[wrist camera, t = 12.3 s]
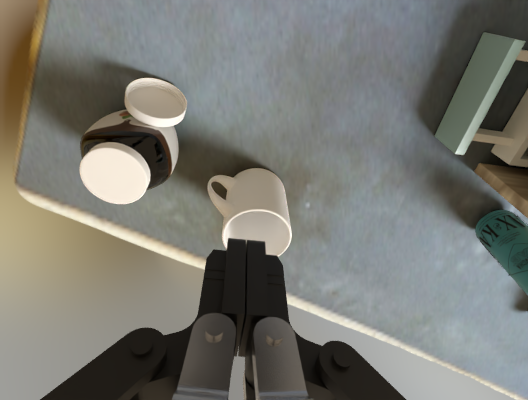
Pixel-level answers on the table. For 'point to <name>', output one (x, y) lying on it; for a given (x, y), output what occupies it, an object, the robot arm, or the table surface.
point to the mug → (254, 209)
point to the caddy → (487, 102)
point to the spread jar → (133, 143)
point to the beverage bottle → (506, 243)
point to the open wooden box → (507, 183)
